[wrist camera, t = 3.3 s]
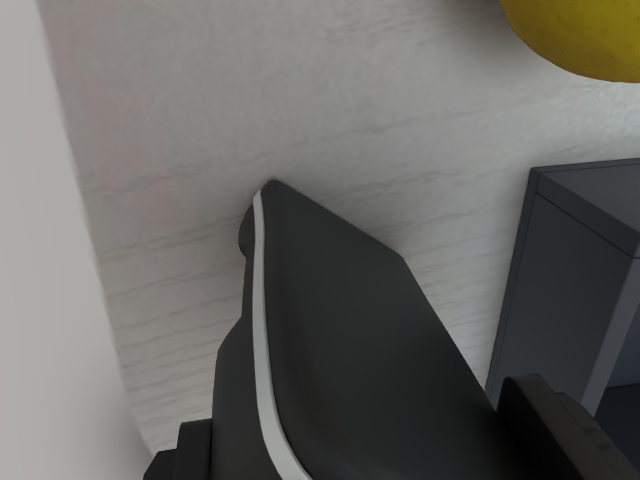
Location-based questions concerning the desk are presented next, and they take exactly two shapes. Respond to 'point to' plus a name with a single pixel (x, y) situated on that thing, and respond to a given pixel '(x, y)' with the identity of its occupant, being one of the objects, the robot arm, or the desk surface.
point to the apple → (582, 35)
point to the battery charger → (343, 364)
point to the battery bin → (578, 294)
